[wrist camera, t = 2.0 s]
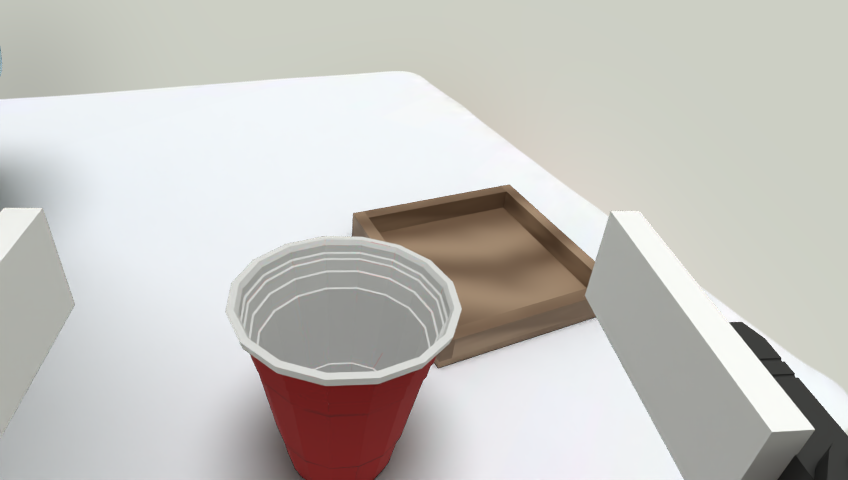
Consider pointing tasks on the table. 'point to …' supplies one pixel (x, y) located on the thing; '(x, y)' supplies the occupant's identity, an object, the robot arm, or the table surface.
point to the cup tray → (491, 265)
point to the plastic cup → (342, 345)
